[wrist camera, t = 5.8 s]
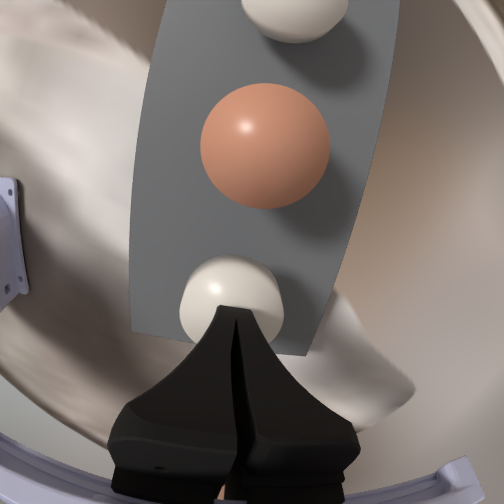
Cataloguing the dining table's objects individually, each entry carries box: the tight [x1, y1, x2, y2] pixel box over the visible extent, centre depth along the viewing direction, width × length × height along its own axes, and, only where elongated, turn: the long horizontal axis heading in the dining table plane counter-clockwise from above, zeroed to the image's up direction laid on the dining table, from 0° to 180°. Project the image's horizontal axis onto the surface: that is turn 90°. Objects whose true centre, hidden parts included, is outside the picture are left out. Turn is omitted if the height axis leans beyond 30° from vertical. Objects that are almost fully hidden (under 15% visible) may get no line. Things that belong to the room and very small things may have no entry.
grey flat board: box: [129, 0, 400, 356], centre depth 15 cm, size 26×12×2 cm, turn 169°
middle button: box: [200, 83, 330, 209], centre depth 11 cm, size 4×4×3 cm
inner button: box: [179, 254, 284, 344], centre depth 14 cm, size 4×4×3 cm
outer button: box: [241, 0, 348, 43], centre depth 9 cm, size 4×4×3 cm
